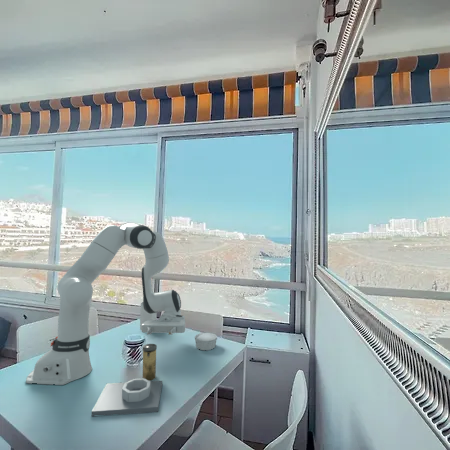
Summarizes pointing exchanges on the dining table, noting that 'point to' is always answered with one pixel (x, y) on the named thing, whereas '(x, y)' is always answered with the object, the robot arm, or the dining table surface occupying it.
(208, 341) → the ramekin
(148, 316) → the milk carton
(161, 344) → the dining table surface
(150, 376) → the cylinder
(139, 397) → the socket base
